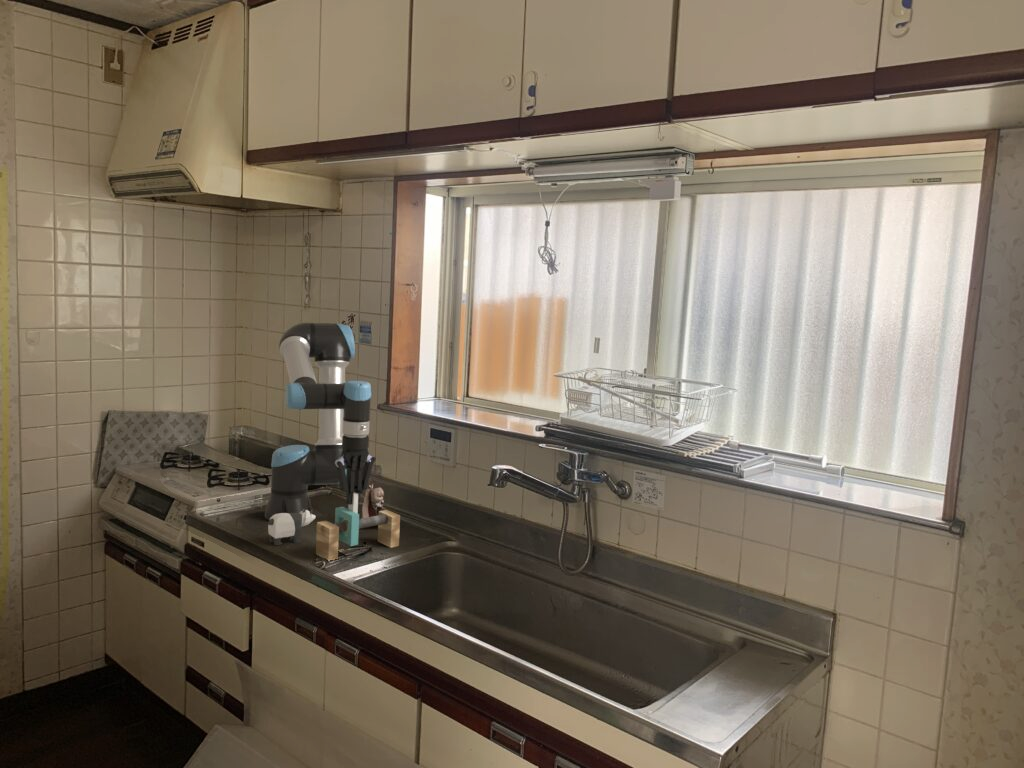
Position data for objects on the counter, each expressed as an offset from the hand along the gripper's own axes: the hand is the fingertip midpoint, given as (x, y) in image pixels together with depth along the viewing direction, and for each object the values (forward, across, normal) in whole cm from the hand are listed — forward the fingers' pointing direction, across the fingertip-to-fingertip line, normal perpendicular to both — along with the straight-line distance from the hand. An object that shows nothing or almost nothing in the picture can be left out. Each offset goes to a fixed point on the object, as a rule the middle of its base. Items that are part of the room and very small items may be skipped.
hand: (352, 514), depth 226 cm
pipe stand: (+11, +2, 0) cm, 11 cm away
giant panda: (+11, -10, +18) cm, 24 cm away
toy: (+12, +19, +16) cm, 27 cm away
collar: (+8, -2, 0) cm, 8 cm away
